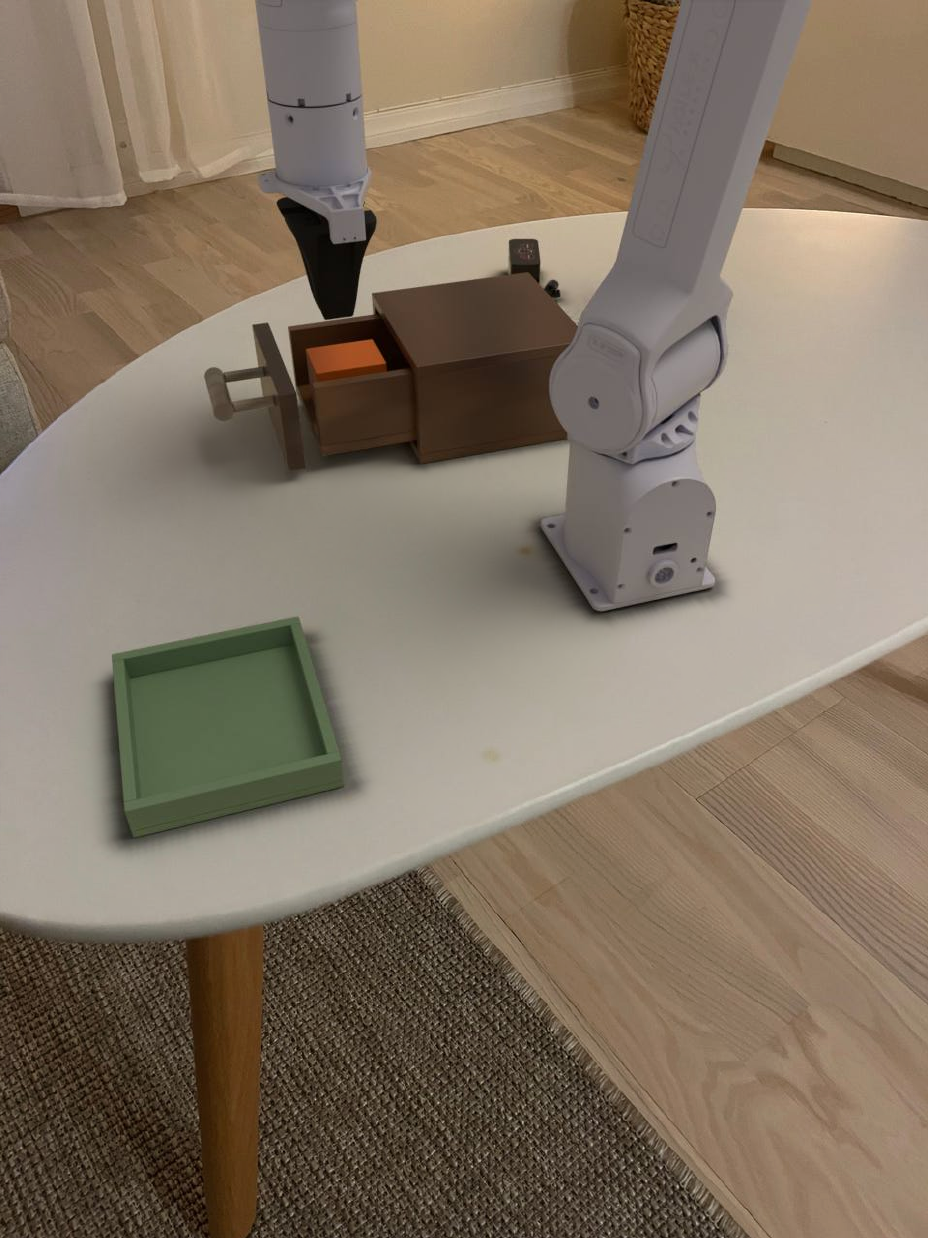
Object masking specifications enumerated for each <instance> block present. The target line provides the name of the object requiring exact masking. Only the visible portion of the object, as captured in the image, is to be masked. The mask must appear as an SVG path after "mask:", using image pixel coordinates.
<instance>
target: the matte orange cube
mask: <svg viewBox="0 0 928 1238" xmlns="http://www.w3.org/2000/svg"><path fill="white" fill-rule="evenodd" d="M306 356H307V365H308V373H309V382H310V391H311V398H312V401H313V403H314V396H313V387H312V383H316V382H322V381H329V380H335V379H342V378H349V377H355V376H362V375H368V374H375V373H381V372H387V369H386V362H385V360H384V358H383V357H382V355H381V353H380V351H379V350H378V348H377V346H376V344H375V342H374V341H373V339H370V340H364V341H357V342H350V343H343V344H336V345H329V346H322V347H315V348H308V349H306ZM314 405H315V404H314Z"/></svg>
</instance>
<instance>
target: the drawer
mask: <svg viewBox="0 0 928 1238" xmlns="http://www.w3.org/2000/svg"><path fill="white" fill-rule="evenodd" d="M251 327H252V334H253V340H254V347H255V352H256V353H255V354H256V360H257V366H256V367H250V368H243V369H238V370H229V371H224V372H223V370H222V369H221V368H219V367H215V366H212V367H209V368H207V369H206V370H205V371H204V374H203V378H204V382H205V386H206V391H207V395H208V397H209V402H210V404H211V409H212V413H213V416H214V417H215V419H217V420H218V421H221V422H227V421H229V420H232V418H233V417H234V415H235V413H241V412H248V411H254V410H260V409H267V412H268V414H269V418H270V420H271V423H272V426H273V429H274V432H275V434H276V437H277V441H278V443H279V446H280V449H281V453H282V455H283V457H284V461H285V464H286V467H287V469H288V471H289V472H291V471H297V470H302V469H306V467H307V466H306V458H305V450H304V442H303V434H302V426H301V425H302V424H301V419H300V410H299V402H300V404H301V407H302V409H303V412H304V414H305V417H306V419H307V422H308V423H309V426H310V430H311V432H312V434H313V437H314V439H315V442H316V445H317V447H318V449H319V452H320V455H321V456H322V457H324V456H325V457H326V456H331V455H337V454H343V453H348V452H354V451H359V450H366V449H372V448H377V447H384V446H389V445H395V444H401V443H409V441H413V440H417V431H416V407H415V383H414V371H413V369H412V368H411V366H410V364H409V363H408V361H407V359H406V358H405V356H404V354H403V353H402V351H401V349H400V348H399V346H398V344H397V343H396V341H395V339H394V338H393V336H392V334H391V333H390V331H389V329H388V328H387V326H386V324H385V323H384V321H383V319H382V318H381V316H380V314H374V315H373V314H367V315H360V316H354V317H353V316H352V317H345V318H338V319H330V320H323V321H317V322H309V323H303V324H296V325H289V326H287V331H288V340H289V347H290V354H291V363H292V371H293V378H294V384H293V382H292V381H293V380H292V379H291V376H290V374H289V372H288V369H287V366H286V364H285V361H284V359H283V356H282V354H281V351H280V349H279V346H278V344H277V340H276V338H275V336H274V334H273V330H272V329H271V326H270V324H269V322H262V323H253V324H252V326H251ZM370 339H373V341H374V342H375V344H376V346H377V348H378V350H379V351H380V353H381V355H382V357H383V358H384V360H385V362H386V369H387V372H381V373H375V374H368V375H362V376H355V377H349V378H342V379H335V380H329V381H322V382H316V383H312V387H313V396H314V403H313V401H312V398H311V391H310V382H309V373H308V365H307V356H306V349H308V348H315V347H322V346H329V345H336V344H343V343H350V342H357V341H364V340H370ZM254 379H259V380H260V387H261V392H262V393H261V394H262V396H258V397H251V398H246V399H239V400H234V401H232V398H231V393H230V391H229V387H228V383H233V382H241V381H246V380H247V381H248V380H254ZM294 386H295V387H294ZM298 399H299V402H298ZM314 404H315V405H314Z"/></svg>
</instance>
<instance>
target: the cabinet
mask: <svg viewBox="0 0 928 1238" xmlns="http://www.w3.org/2000/svg"><path fill="white" fill-rule="evenodd" d="M544 289H545V288H544V287H542V285H541V284H540V285H539V284H538V282H537V281H536V280H535V279H534V278H533V277H532V276H531V275H530V274H529V273H528V272H526V273H518V274H511V275H509V274H503V275H498V276H497V275H496V276H489V277H482V278H474V279H468V280H460V281H452V282H444V283H438V284H429V285H422V286H414V287H408V288H407V287H406V288H401V289H393V290H385V291H378V292H377V291H376V292H371V300H372V301H371V302H372V315H374V314H380V316H381V318H382V319H383V321H384V323H385V324H386V326H387V328H388V329H389V331H390V333H391V334H392V336H393V338H394V339H395V341H396V343H397V344H398V346H399V348H400V349H401V351H402V353H403V354H404V356H405V358H406V359H407V361H408V363H409V364H410V366H411V368H412V369H413V371H414V383H415V407H416V431H417V440H413V441H408V443H409V445H410V447H411V449H412V450H413V452H414V454H415V456H416V458H417V459H418V461H419V464H421V465H423V464H428V463H434V462H441V461H445V460H451V459H456V458H463V457H468V456H469V457H470V456H474V455H480V454H486V453H492V452H497V451H501V450H502V451H503V450H508V449H515V448H520V447H525V446H532V445H536V444H543V443H547V442H554V441H560V440H565V439H567V432H566V431H565V429H564V428H563V427H562V425H561V424H560V422H559V420H558V418H557V416H556V415H555V412H554V409H553V407H552V404H551V399H550V393H549V379H550V374H551V370H552V368H553V365H554V363H555V361H556V360H557V358H558V357H559V356H560V355H561V353H562V352H563V351H564V350H565V349H566V348H567V347H568V346H569V345H570V344H571V342H572V341H573V339H574V337H575V334H576V331H577V328H578V323H576V322H575V321H574V320H573V319H572V318H571V317H570V316H569V314H567V312H565V310H564V309H563V308H562V307H561V306H560V305H559V303H557V302H556V301H555V300H554V298H553V297H552V298H551V296H550V295H549V294H548V293H547V292H546V291H545V290H544Z"/></svg>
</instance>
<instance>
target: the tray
mask: <svg viewBox="0 0 928 1238" xmlns="http://www.w3.org/2000/svg"><path fill="white" fill-rule="evenodd" d="M301 623H302V622H301V620H300V616H292V617H287V618H283V619H278V620H273V621H268V622H264V623H258V624H253V625H248V626H244V627H238V628H233V629H228V630H224V631H219V632H214V633H210V634H205V635H200V636H195V637H190V638H185V639H181V640H176V641H175V640H174V641H171V642H166V643H162V644H161V643H160V644H155V645H151V646H150V645H149V646H145V647H140V648H136V649H131V650H127V651H121V652H117V653H112V654H111V662H112V663H111V664H112V677H113V688H114V701H115V712H116V714H115V715H116V725H117V739H118V749H119V763H120V764H119V765H120V775H121V788H122V800H123V801H122V802H123V812H124V815H125V817H126V820H127V823H128V826H129V829H130V832H131V835H132V836H133V838H140V837H142V836H147V835H151V834H154V833H155V834H156V833H160V832H163V831H167V830H171V829H176V828H180V827H185V826H188V825H192V824H196V823H200V822H204V821H209V820H213V819H217V818H221V817H225V816H228V815H229V816H230V815H232V814H237V813H241V812H244V811H250V810H253V809H257V808H262V807H265V806H269V805H274V804H277V803H282V802H285V801H290V800H294V799H298V798H302V797H306V796H310V795H314V794H319V793H322V792H326V791H329V790H335V789H339V788H343V787H345V785H346V783H345V777H344V769H343V762H342V756H341V753H340V749H339V747H338V743H337V740H336V736H335V733H334V730H333V726H332V723H331V719H330V716H329V714H328V710H327V707H326V706H327V705H326V703H325V700H324V696H323V693H322V690H321V686H320V683H319V680H318V677H317V672H316V670H315V666H314V663H313V660H312V657H311V652H310V649H309V647H308V643H307V639H306V637H305V633H304V629H303V626H302V624H301Z"/></svg>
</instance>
